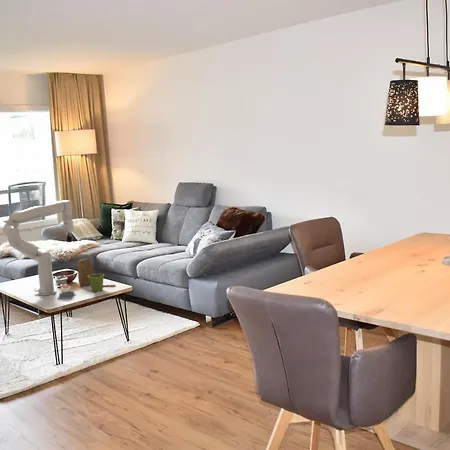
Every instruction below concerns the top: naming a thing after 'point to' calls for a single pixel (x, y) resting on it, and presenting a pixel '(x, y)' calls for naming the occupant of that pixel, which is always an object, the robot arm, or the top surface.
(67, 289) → the popper dome
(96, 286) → the plant pot
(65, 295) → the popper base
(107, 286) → the bracket
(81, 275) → the block
